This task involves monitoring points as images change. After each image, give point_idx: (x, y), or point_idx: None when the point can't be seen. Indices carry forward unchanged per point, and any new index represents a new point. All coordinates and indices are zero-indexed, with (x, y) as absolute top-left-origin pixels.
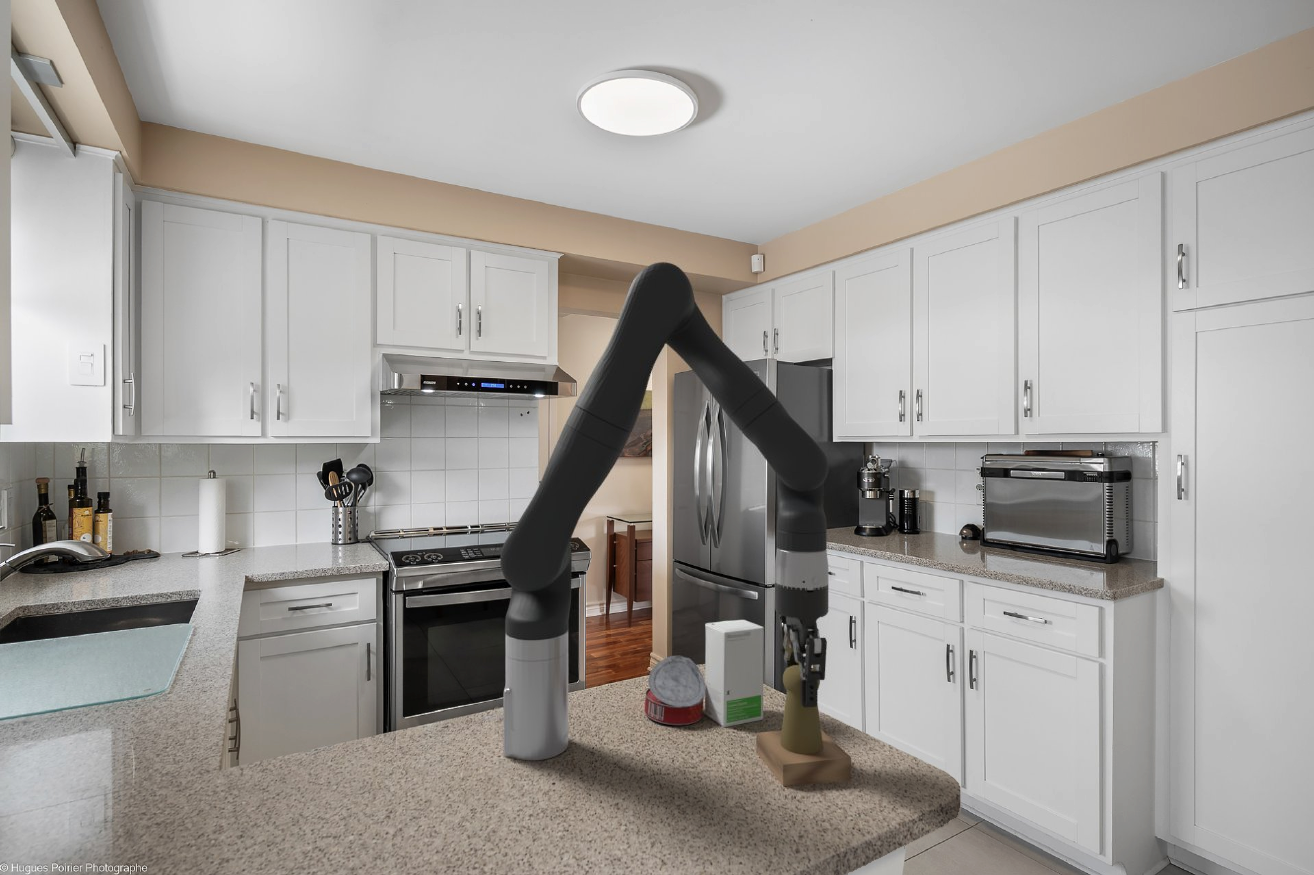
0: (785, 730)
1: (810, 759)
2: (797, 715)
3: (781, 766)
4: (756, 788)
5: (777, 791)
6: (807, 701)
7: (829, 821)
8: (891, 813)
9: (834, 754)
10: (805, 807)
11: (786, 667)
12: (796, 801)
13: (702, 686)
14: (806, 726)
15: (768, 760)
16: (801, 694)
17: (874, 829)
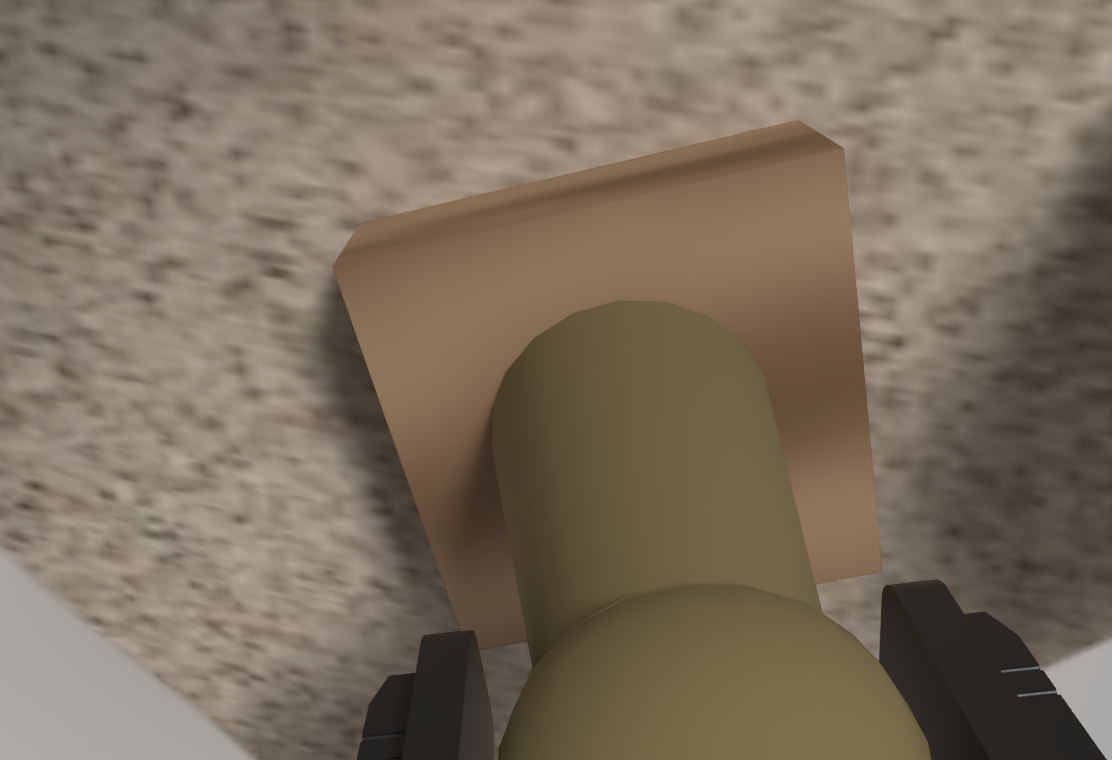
0: (591, 375)
1: (426, 446)
2: (530, 529)
3: (363, 253)
4: (347, 57)
5: (326, 184)
6: (374, 711)
7: (65, 397)
8: (197, 655)
9: (497, 583)
10: (175, 309)
11: (1043, 739)
12: (230, 273)
13: None
14: (509, 541)
15: (585, 184)
16: (433, 709)
17: (47, 564)
